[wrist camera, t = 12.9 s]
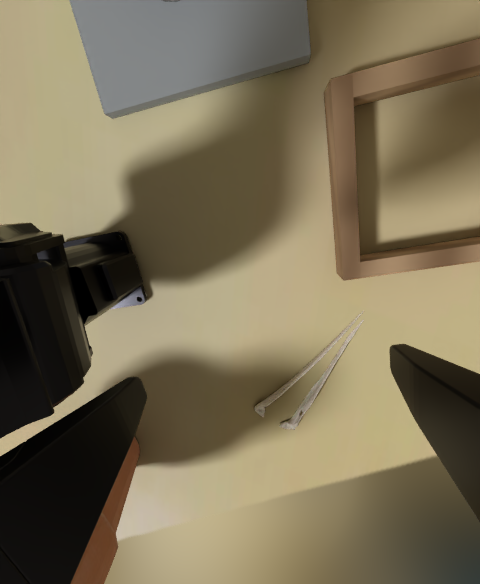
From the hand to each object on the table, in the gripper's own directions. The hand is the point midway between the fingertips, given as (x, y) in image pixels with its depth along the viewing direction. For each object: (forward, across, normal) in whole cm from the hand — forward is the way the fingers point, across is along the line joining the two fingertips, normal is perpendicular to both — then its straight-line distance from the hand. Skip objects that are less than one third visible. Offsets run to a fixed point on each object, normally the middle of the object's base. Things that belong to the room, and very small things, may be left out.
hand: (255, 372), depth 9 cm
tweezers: (+14, -4, +9) cm, 17 cm away
